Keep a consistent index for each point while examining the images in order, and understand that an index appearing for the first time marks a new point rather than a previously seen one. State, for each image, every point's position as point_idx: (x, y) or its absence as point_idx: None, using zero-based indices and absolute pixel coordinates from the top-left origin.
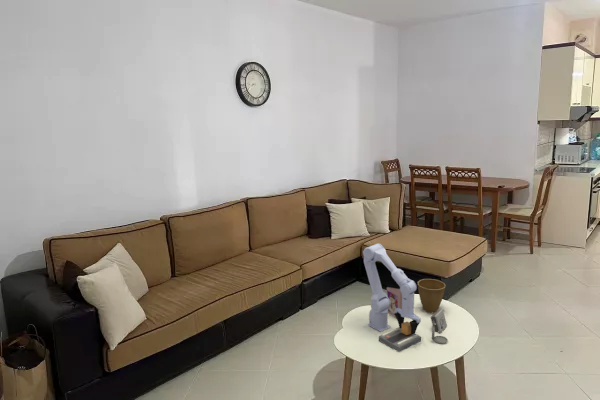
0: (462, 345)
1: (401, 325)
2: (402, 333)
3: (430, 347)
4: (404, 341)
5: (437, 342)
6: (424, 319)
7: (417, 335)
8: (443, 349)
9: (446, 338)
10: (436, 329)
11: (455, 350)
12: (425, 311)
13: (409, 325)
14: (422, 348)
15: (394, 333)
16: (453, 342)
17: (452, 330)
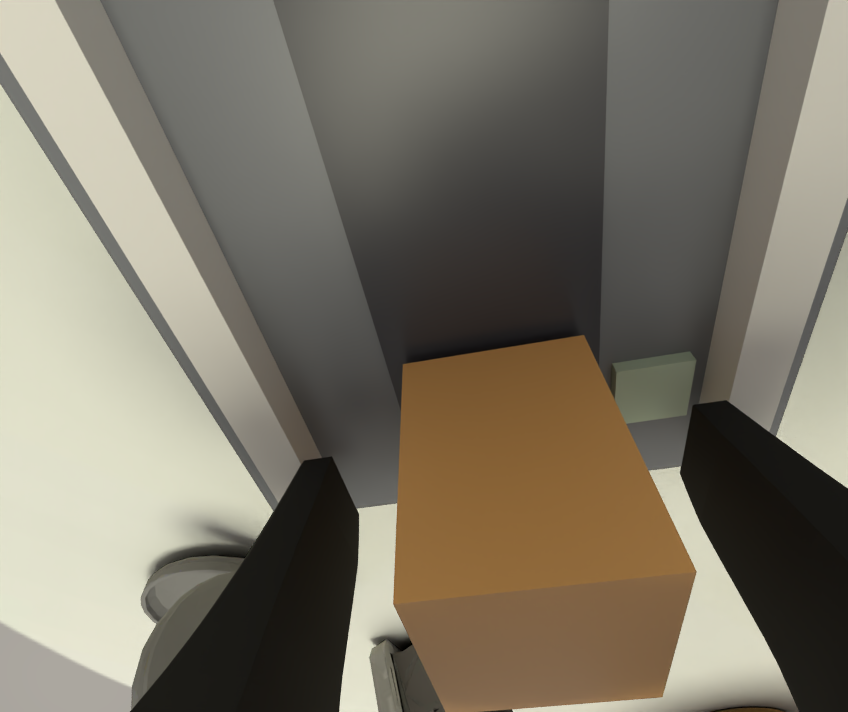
0: (106, 654)
1: (723, 489)
2: (548, 335)
3: (96, 457)
4: (5, 59)
5: (175, 565)
6: None
7: None
8: (31, 534)
9: None
10: (419, 664)
11: (6, 593)
12: (752, 709)
13: (420, 654)
14: (73, 360)
15: (701, 157)
16: None
17: (375, 698)
